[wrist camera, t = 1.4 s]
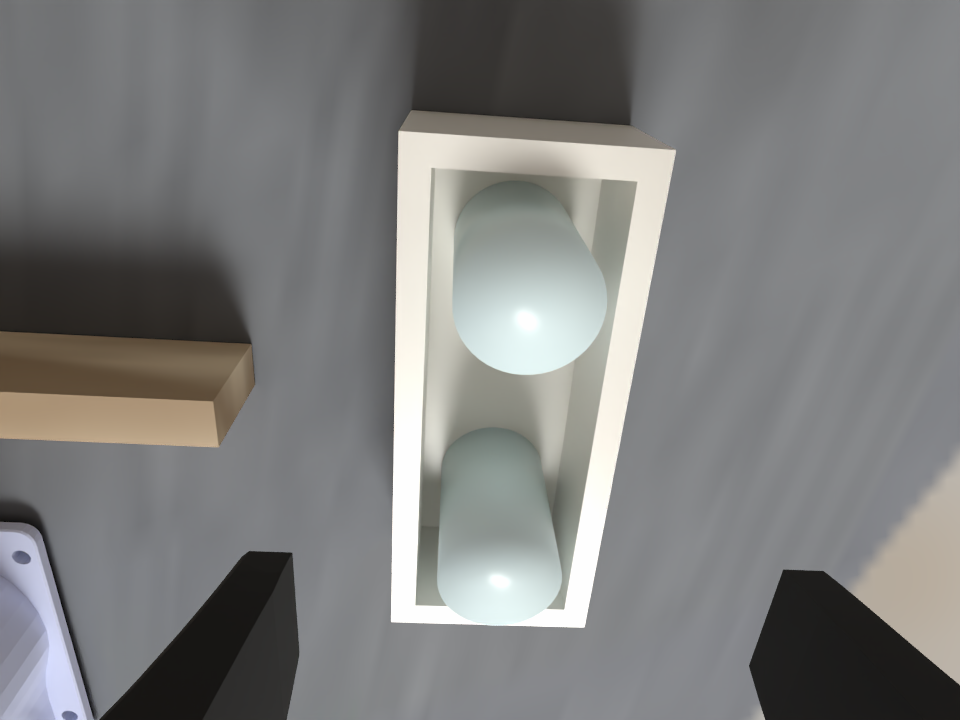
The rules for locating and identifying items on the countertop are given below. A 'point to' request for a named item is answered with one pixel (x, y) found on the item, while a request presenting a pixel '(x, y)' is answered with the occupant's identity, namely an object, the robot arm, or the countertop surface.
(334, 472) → the countertop surface
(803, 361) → the countertop surface
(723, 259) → the countertop surface
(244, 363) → the light wooden angled piece
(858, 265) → the countertop surface
